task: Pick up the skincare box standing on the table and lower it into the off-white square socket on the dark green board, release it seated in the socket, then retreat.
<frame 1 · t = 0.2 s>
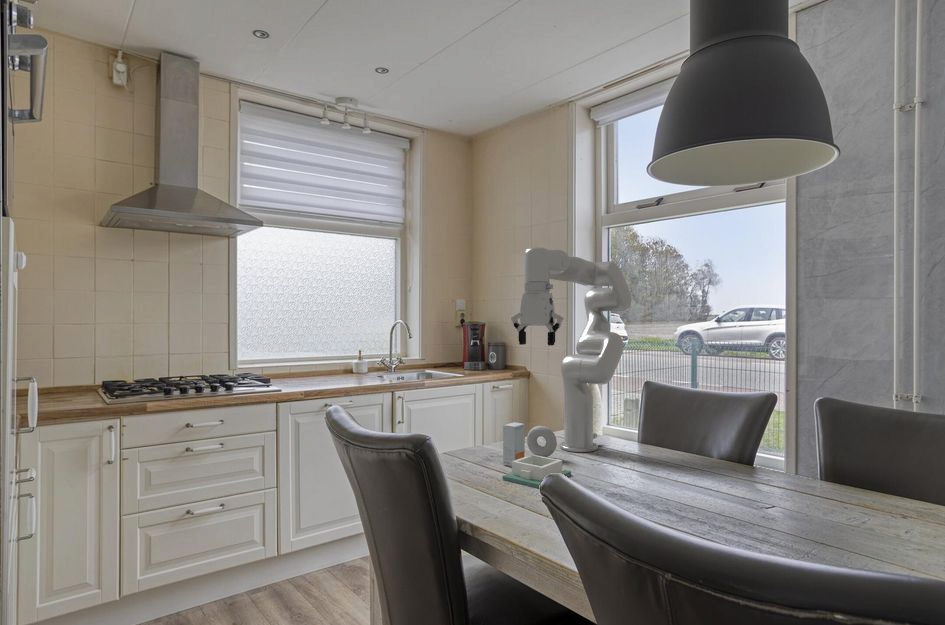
hand: (536, 344, 167), 36 cm above the table, tool pointing down, fingers open, 9 cm apart
donut: (541, 457, 173), on the table
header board: (537, 477, 152), on the table
skincare box: (514, 464, 165), on the table
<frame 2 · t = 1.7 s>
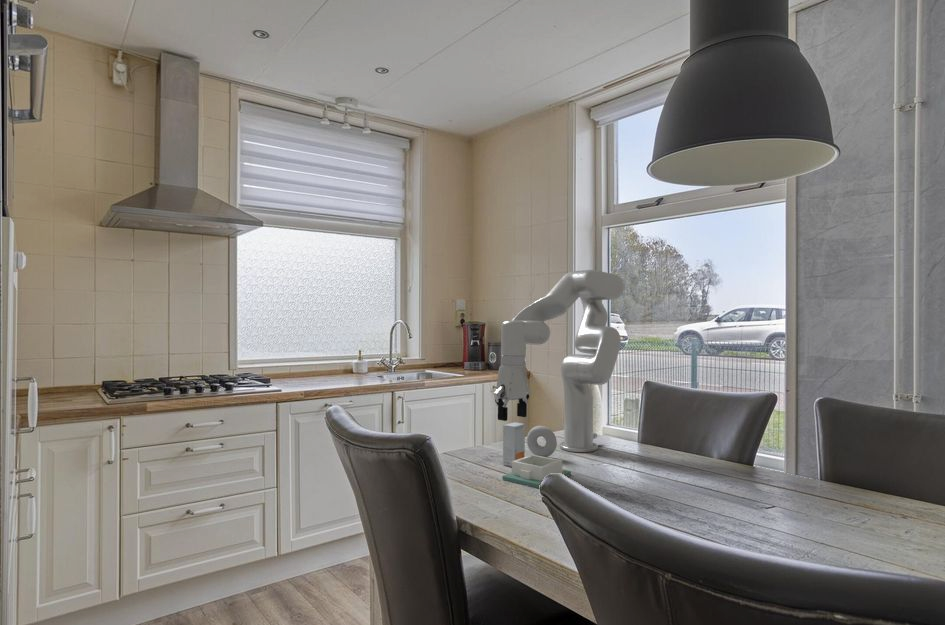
hand: (512, 418, 165), 14 cm above the table, tool pointing down, fingers open, 9 cm apart
nothing on the table moved.
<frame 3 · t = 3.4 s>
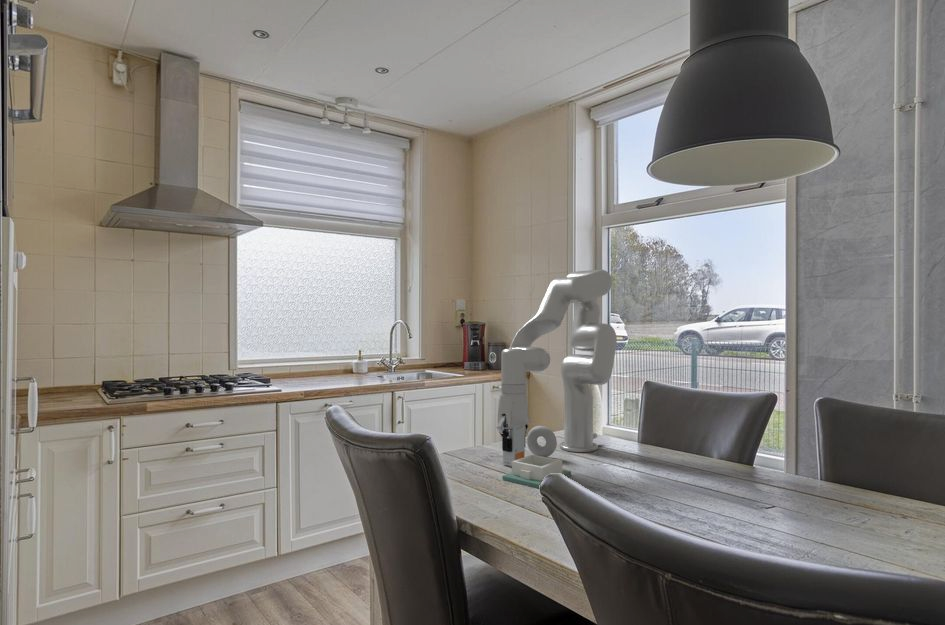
hand: (514, 448, 165), 5 cm above the table, tool pointing down, fingers closed on skincare box, 6 cm apart
skincare box: (514, 464, 165), on the table, touching gripper
everything else where it was.
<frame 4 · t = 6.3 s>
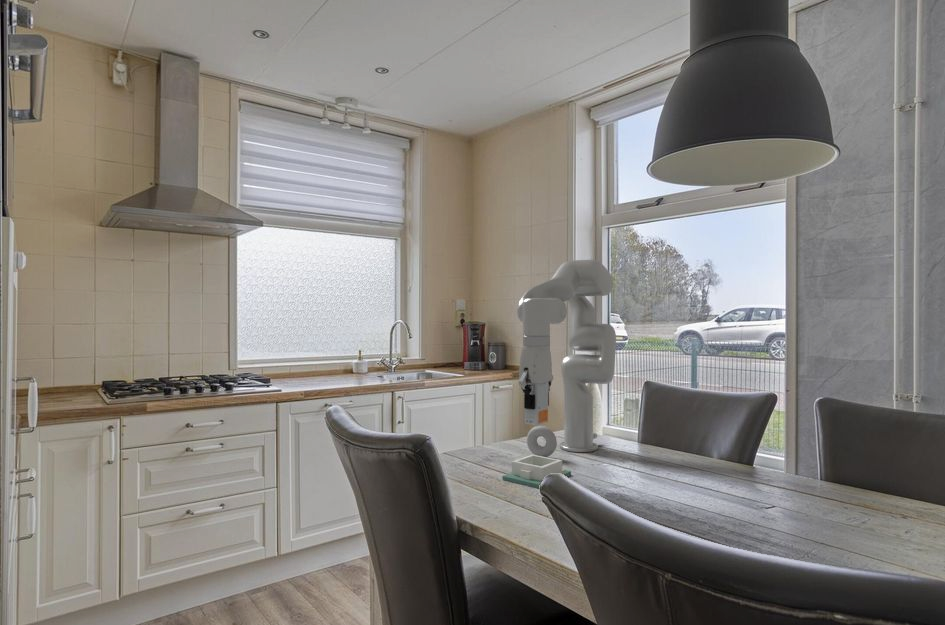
hand: (536, 406, 152), 19 cm above the table, tool pointing down, fingers closed on skincare box, 6 cm apart
skincare box: (536, 424, 152), point 15 cm above the table, touching gripper
everything else where it was.
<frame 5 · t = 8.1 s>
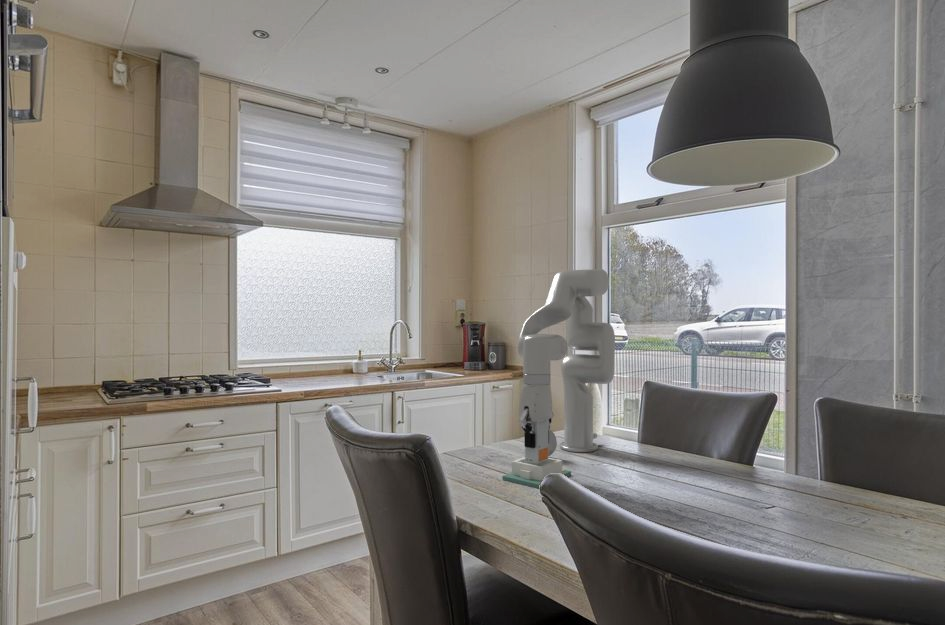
hand: (537, 444, 152), 9 cm above the table, tool pointing down, fingers closed on skincare box, 6 cm apart
skincare box: (536, 462, 152), point 4 cm above the table, touching gripper
everything else where it was.
when the fingers open (7 cm above the table, at t = 9.4 s): skincare box drops 1 cm, resting on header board.
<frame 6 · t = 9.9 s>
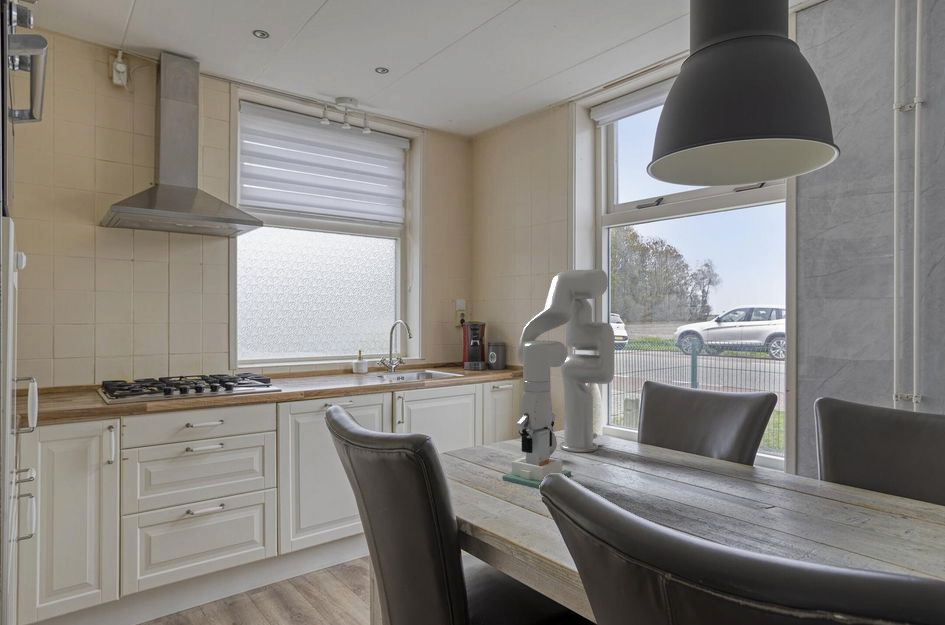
hand: (537, 448, 152), 8 cm above the table, tool pointing down, fingers open, 9 cm apart
skincare box: (537, 473, 152), point 1 cm above the table, touching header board
everything else where it was.
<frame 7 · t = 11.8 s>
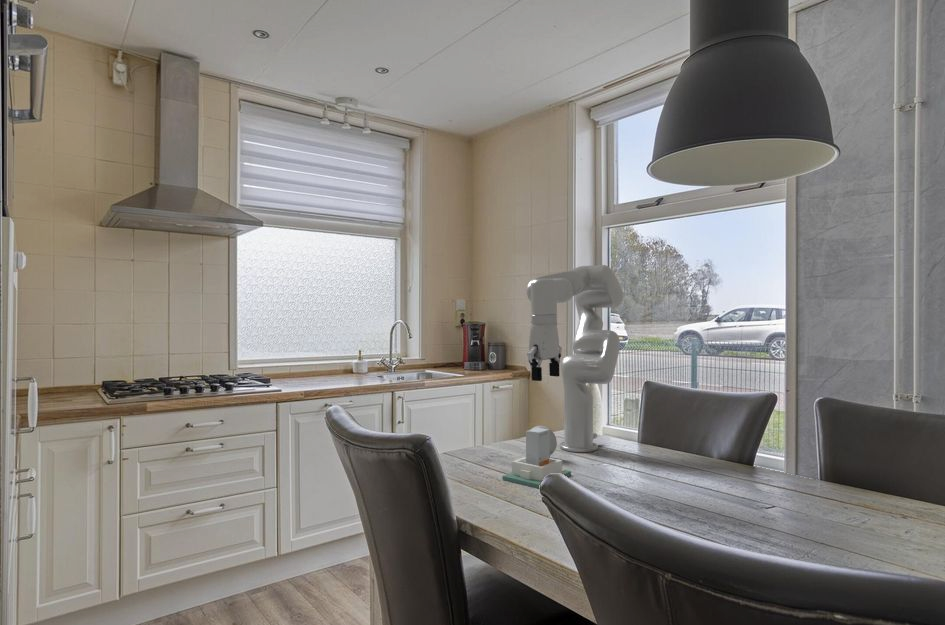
hand: (545, 378, 163), 26 cm above the table, tool pointing down, fingers open, 9 cm apart
nothing on the table moved.
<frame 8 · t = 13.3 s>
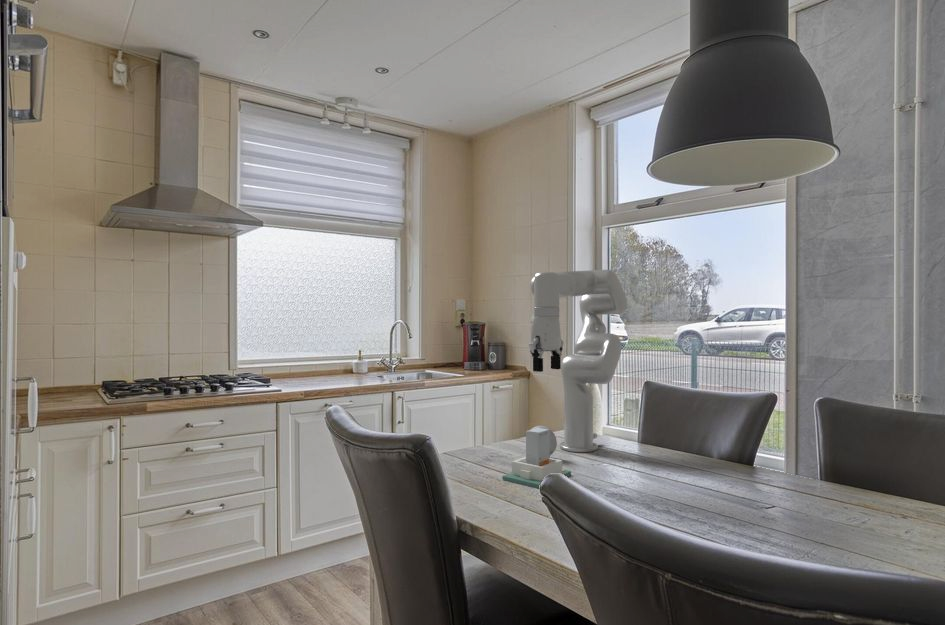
hand: (547, 370, 165), 28 cm above the table, tool pointing down, fingers open, 9 cm apart
nothing on the table moved.
at the end: skincare box 0.5 cm off-centre on the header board, point 0.8 cm above the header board's base; skincare box tilted 0°; the gripper is holding nothing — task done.
